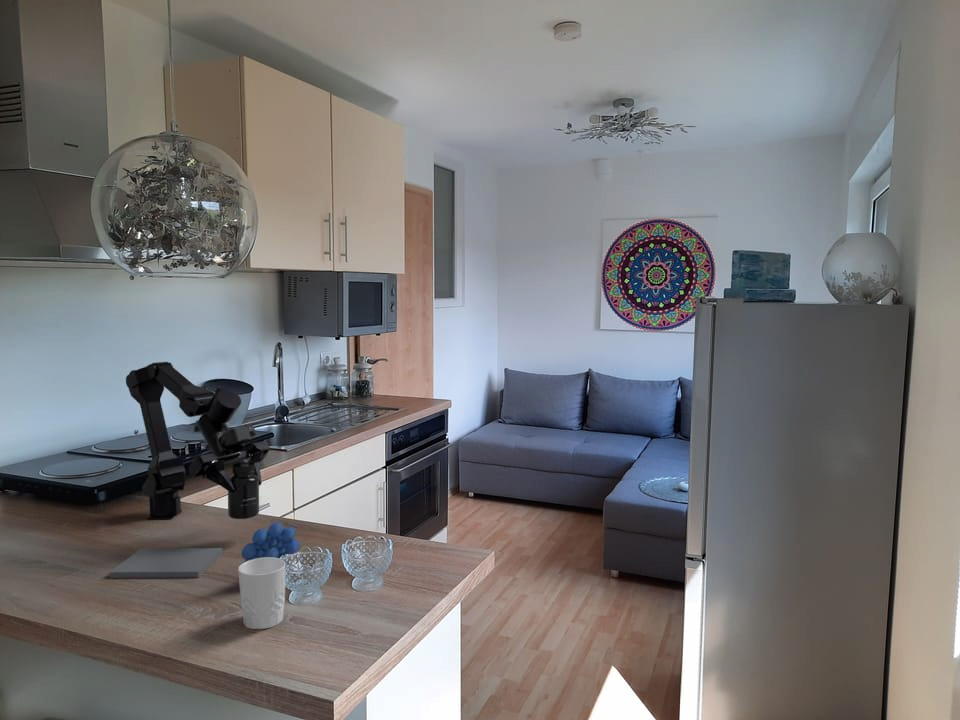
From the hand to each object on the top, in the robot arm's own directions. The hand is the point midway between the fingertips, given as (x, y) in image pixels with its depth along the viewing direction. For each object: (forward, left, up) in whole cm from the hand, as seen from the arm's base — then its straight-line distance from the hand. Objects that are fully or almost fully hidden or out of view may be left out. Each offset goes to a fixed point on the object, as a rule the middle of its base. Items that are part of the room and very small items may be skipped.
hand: (247, 488), depth 152 cm
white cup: (+15, -37, -13) cm, 42 cm away
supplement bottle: (-1, +1, -7) cm, 7 cm away
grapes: (+11, -20, -13) cm, 27 cm away
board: (-13, -12, -13) cm, 22 cm away
